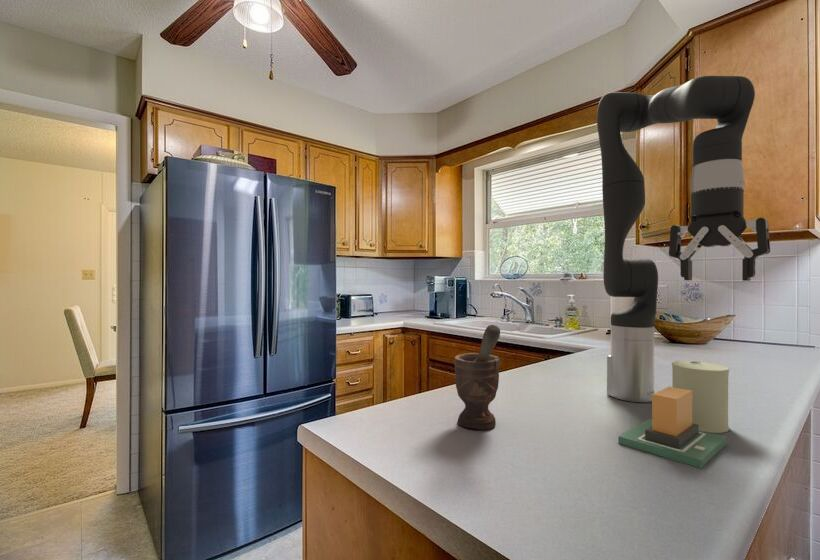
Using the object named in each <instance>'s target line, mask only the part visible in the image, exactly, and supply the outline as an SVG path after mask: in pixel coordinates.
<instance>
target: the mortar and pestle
mask: <svg viewBox="0 0 820 560" xmlns="http://www.w3.org/2000/svg"><path fill="white" fill-rule="evenodd" d="M500 336H501V329H500V327H499V326H497V325H494V324H489V325H488V326H487V327H486V328H485V329H484V333H483V335H482V339H481V343H480V348H479V351H478V352H469V353H467V352H466V353H459V354H457V355H455V357H454V381H455V388H456V391H457V396H458V397H459V399H460V400H461V401H462V403H464V408H463V410H462V411H461V412H460V413H459V415H458V418H457V422H456V423H457V424H458V425H459V426H461V427H463V428H467V429H472V430H473V429H474V430H480V431H481V430H482V431H488V430H492V429H494V428H495V427H496V424H497V423H496V422H497V420H496V417H495V414H494V413H492V412H491V411H490V410H489V405H490V404H491V402H492V401H494V400H495V399H496V395H497V392H498V390H499V383H500V382H499V381H500V376H499V375H500V373H499V372H500V364H501V363H500V360H501V359H500V357H499V356H498V355H493V354H492V352H493V350H494V349H495V346H496V345H497V343H498V341H499V339H500Z"/></svg>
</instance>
